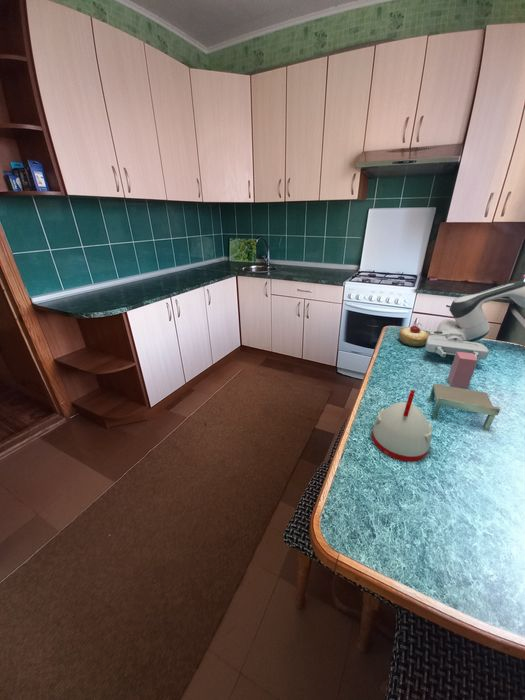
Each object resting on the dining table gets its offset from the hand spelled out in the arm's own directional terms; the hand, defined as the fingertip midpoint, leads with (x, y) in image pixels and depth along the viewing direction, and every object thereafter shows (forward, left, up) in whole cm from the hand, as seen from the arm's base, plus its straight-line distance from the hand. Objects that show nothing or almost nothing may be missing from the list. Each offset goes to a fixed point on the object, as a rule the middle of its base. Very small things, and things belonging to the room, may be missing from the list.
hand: (458, 357), depth 104 cm
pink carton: (0, +8, -6) cm, 10 cm away
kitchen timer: (+19, +44, -6) cm, 49 cm away
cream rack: (+3, +26, -6) cm, 27 cm away
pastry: (+13, -22, -6) cm, 26 cm away
